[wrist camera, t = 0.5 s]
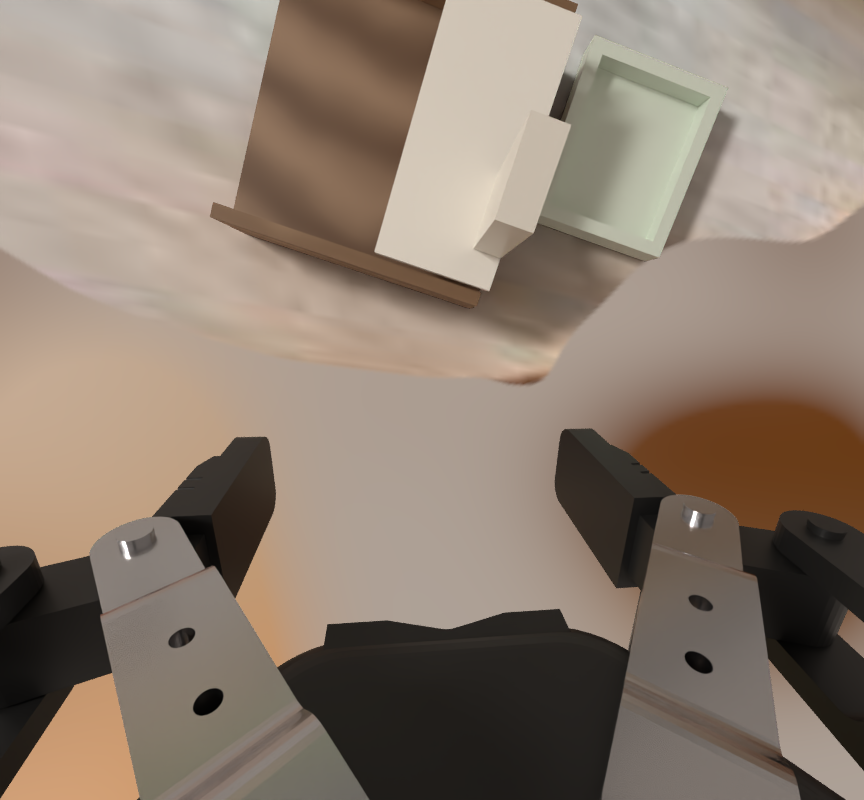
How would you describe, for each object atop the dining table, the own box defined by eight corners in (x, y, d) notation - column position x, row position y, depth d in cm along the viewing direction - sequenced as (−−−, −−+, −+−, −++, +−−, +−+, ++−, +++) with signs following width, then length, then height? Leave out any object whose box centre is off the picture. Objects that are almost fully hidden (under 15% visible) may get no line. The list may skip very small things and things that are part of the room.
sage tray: (583, 53, 34) (595, 34, 31) (708, 102, 35) (728, 87, 32) (526, 219, 36) (533, 212, 34) (644, 261, 37) (659, 257, 35)
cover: (454, -25, 27) (472, -216, 17) (577, 24, 27) (661, -133, 18) (375, 253, 30) (352, 223, 20) (487, 291, 31) (517, 279, 21)
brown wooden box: (306, -31, 32) (277, -117, 26) (551, 64, 34) (580, 5, 27) (245, 233, 36) (207, 215, 29) (469, 308, 37) (479, 307, 31)
